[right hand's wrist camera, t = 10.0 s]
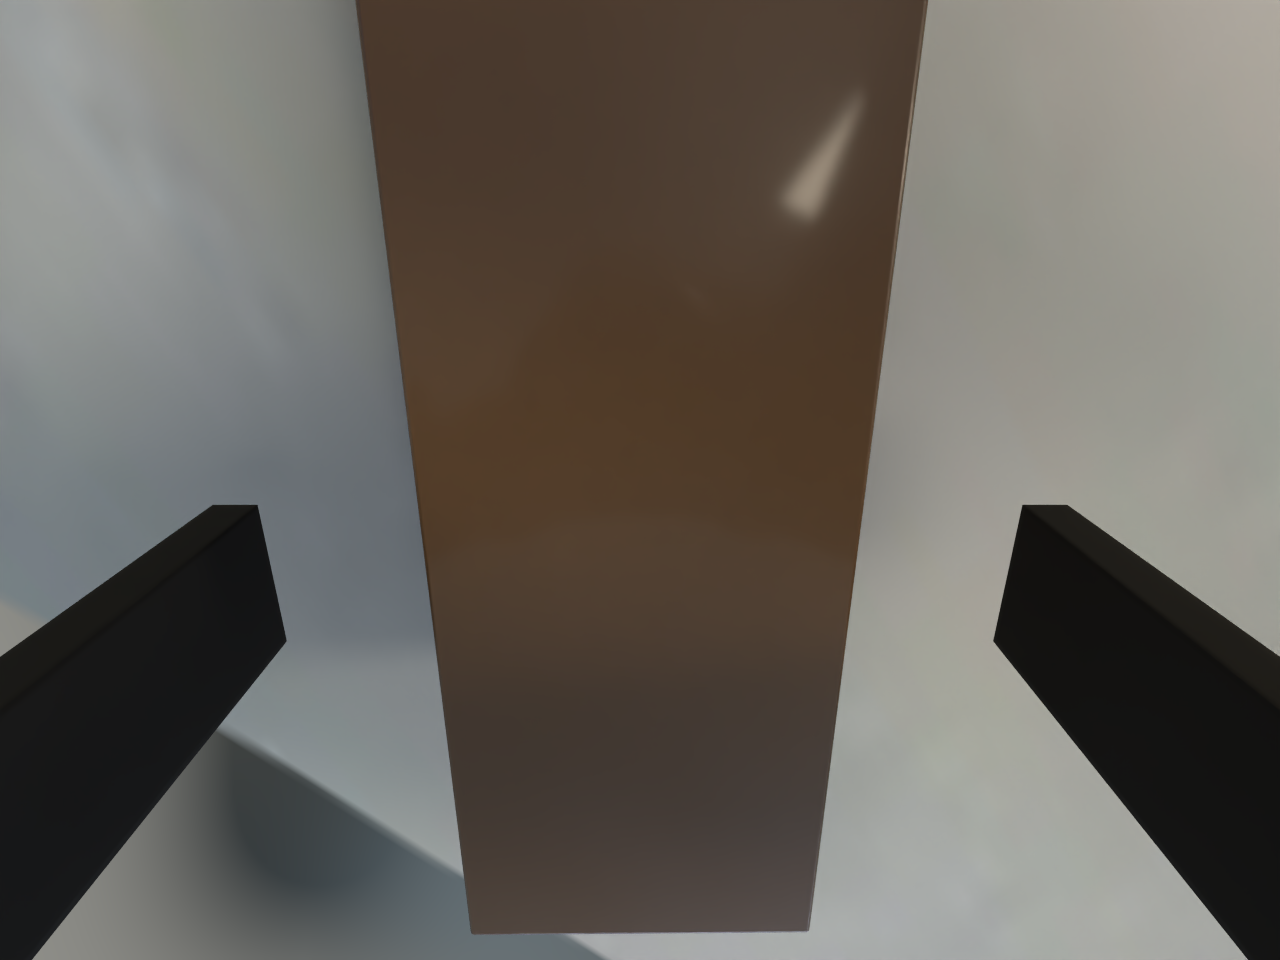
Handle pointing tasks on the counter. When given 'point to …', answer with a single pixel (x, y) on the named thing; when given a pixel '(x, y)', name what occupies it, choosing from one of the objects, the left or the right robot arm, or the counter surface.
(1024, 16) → the counter surface
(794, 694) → the bar
